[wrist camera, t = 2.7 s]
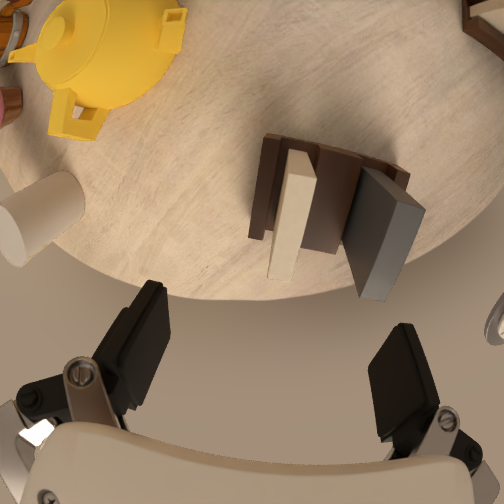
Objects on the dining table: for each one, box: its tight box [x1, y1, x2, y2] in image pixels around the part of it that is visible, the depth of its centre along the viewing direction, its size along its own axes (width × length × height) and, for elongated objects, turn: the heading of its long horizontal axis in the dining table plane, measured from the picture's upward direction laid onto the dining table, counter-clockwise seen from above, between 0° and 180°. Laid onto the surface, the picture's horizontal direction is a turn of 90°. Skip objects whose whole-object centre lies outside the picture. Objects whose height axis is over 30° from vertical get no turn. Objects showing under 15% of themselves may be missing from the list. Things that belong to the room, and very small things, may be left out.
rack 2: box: [462, 0, 504, 60], centre depth 9 cm, size 9×14×4 cm, turn 172°
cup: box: [0, 171, 85, 267], centre depth 26 cm, size 8×8×12 cm
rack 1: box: [248, 133, 410, 254], centre depth 26 cm, size 14×10×4 cm
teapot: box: [8, 0, 189, 141], centre depth 16 cm, size 17×17×12 cm
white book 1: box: [267, 149, 317, 283], centre depth 22 cm, size 2×8×10 cm, turn 172°
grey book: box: [341, 166, 426, 302], centre depth 22 cm, size 2×8×10 cm, turn 172°
